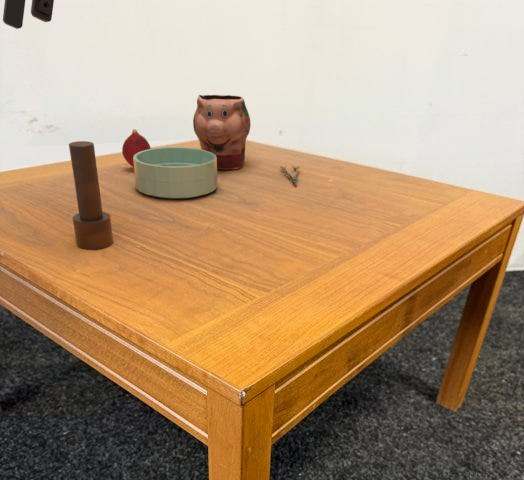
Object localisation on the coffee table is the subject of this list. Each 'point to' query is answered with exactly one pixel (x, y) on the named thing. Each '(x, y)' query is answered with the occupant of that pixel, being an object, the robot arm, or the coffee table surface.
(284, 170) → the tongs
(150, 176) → the bowl
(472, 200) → the coffee table surface
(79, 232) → the pestle
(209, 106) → the decorative planter
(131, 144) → the onion
